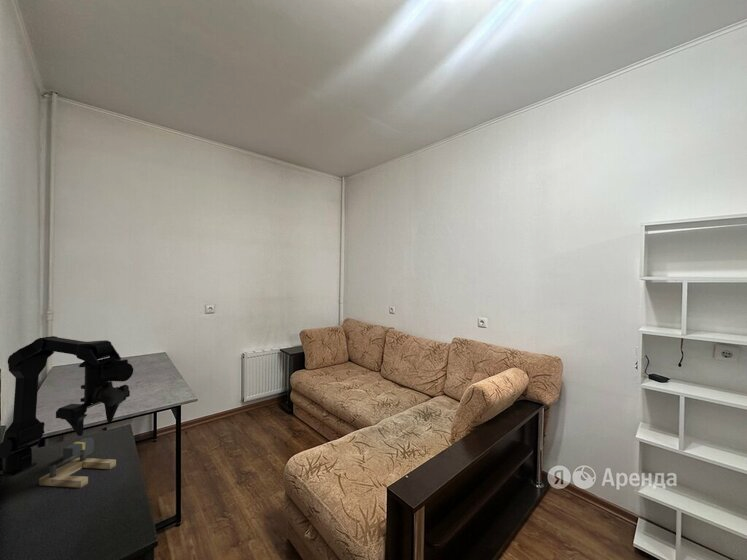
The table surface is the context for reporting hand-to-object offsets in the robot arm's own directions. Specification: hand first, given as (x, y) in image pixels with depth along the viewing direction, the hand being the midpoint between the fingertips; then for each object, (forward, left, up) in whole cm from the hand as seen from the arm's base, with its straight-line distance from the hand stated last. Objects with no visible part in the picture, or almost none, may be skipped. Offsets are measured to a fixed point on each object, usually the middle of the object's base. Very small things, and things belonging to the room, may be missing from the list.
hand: (95, 428), depth 96 cm
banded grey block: (-15, +8, -14) cm, 22 cm away
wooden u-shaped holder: (-4, -1, -14) cm, 15 cm away
